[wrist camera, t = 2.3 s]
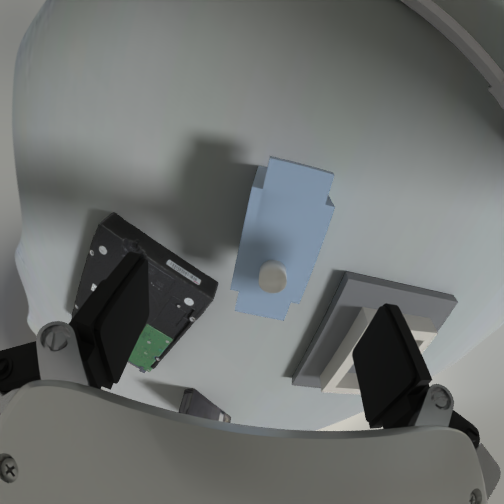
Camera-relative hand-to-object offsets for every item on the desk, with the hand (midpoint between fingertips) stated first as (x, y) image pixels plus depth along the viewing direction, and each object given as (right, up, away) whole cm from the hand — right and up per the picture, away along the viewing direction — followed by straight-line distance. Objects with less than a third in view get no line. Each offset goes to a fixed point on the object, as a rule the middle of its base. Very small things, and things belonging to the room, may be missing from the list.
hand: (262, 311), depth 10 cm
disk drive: (-11, -2, +14) cm, 18 cm away
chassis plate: (+11, -6, +13) cm, 18 cm away
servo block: (+1, +5, +8) cm, 9 cm away
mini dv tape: (-6, -18, +22) cm, 28 cm away
